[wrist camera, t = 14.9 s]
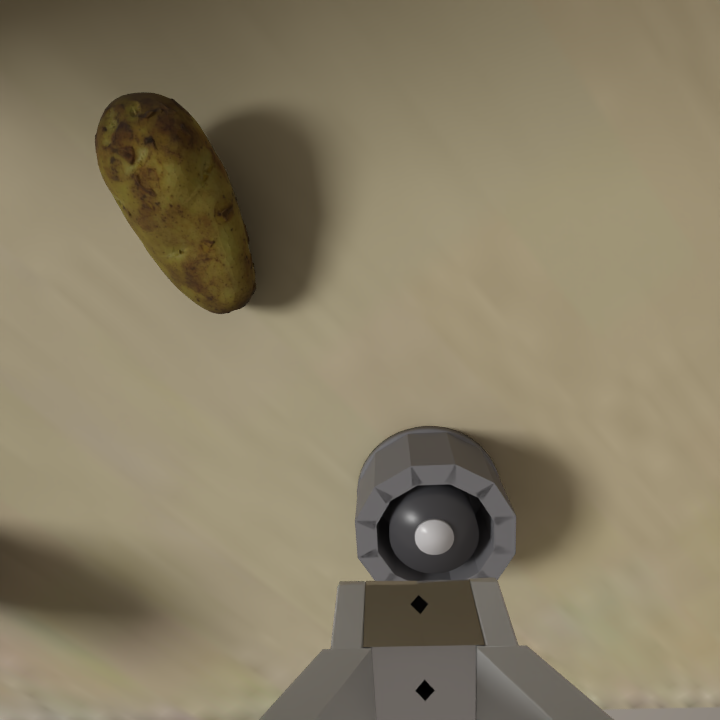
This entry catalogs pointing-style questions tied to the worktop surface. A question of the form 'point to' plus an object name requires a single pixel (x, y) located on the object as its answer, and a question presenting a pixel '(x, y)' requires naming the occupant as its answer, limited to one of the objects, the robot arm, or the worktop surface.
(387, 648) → the robot arm
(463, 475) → the faceted grey cup
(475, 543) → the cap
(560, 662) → the worktop surface
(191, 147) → the potato
